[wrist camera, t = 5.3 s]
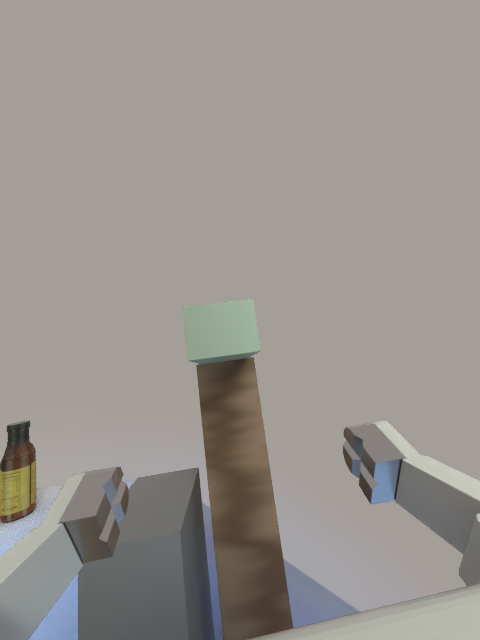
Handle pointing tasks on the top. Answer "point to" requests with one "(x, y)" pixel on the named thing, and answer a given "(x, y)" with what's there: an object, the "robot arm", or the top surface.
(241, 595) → the walnut stand
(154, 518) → the gray block
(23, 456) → the sauce bottle
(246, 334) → the green handle
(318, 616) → the top surface
